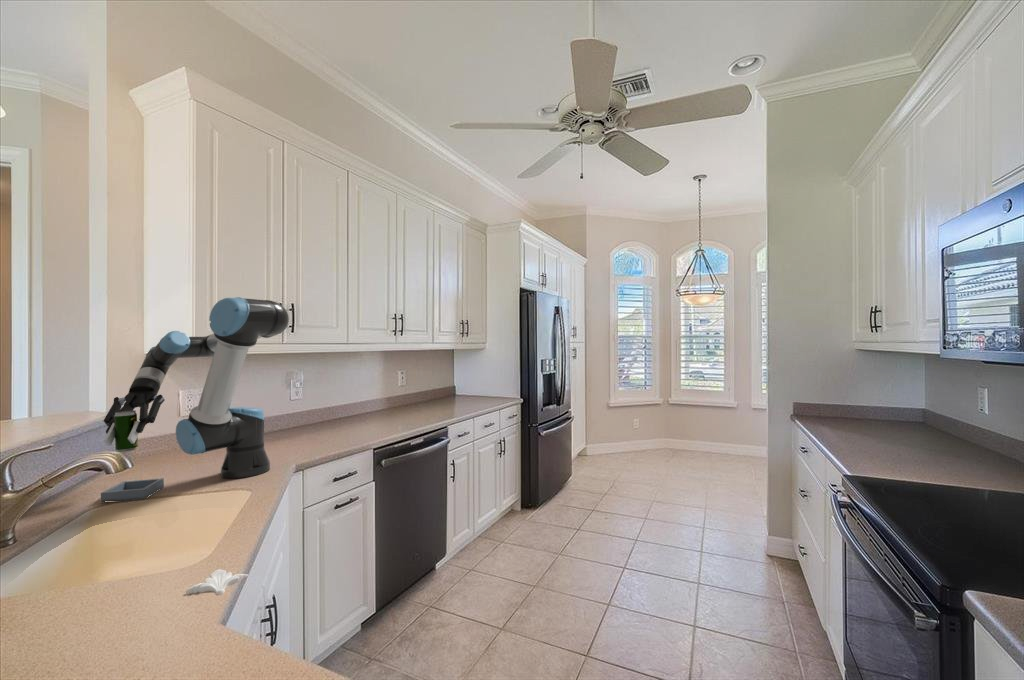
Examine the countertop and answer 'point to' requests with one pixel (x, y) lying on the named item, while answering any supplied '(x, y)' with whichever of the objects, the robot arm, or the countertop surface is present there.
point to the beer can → (124, 430)
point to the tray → (132, 490)
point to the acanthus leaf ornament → (216, 582)
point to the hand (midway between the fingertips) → (119, 441)
